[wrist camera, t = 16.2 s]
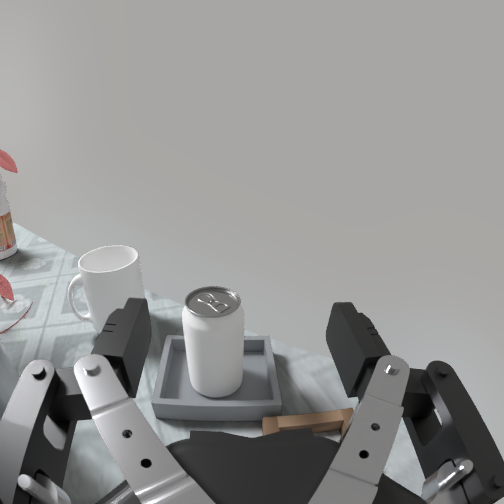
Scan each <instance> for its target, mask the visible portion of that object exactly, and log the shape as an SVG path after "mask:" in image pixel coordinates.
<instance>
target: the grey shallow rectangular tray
mask: <svg viewBox="0 0 504 504" xmlns="http://www.w3.org/2000/svg"><path fill="white" fill-rule="evenodd" d="M152 406H153V409H154V412H155V415H156V418H162V419H175V420H192V421H260V420H263V417H275V416H280V414H281V409H282V400H281V394H280V389H279V384H278V378H277V373H276V368H275V362H274V357H273V352H272V346H271V341H270V336H244V349H243V377H242V383H241V385H240V387H239V388H238V389H237V390H236V391H235V392H234V393H232V394H230V395H228V396H225V397H220V398H213V397H208V396H205V395H202V394H200V393H199V392H197V391H196V390H195V389H194V388H193V386H192V384H191V381H190V376H189V369H188V362H187V355H186V347H185V339H184V335H167V336H166V340H165V344H164V348H163V352H162V357H161V361H160V365H159V370H158V374H157V379H156V383H155V388H154V393H153V398H152Z"/></svg>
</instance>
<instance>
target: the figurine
mask: <svg viewBox="0 0 504 504" xmlns="http://www.w3.org/2000/svg"><path fill="white" fill-rule="evenodd" d="M0 166H1V167H2V168H4V169H5V170H8V171H11V172H15V173H17V168H16V165H15V162H14V161H13V159H12V158H11V157H10V156H9V155H8V154H7V153H6V152H4V151H2V150H0ZM0 294H1V297H2V296H3V297H5V298H7V299H9V300H13V301H14V297H13V292H12V288H11V286H10V284H9V282H8V281H7V279H6V278H5V277H3V276H2V275H1V274H0ZM32 303H33V302H32ZM31 305H32V304H31ZM30 307H31V306H30ZM29 309H30V308H29ZM29 309H28V310H29ZM27 312H28V311H27ZM27 312H26V313H27ZM26 313H25V314H26ZM25 314H24V315H25ZM27 314H28V313H27ZM23 317H24V316H23ZM23 317H22V318H23ZM22 318H21V319H22ZM24 318H25V317H24ZM21 319H20V320H21ZM18 321H19V320H18ZM18 321H17V322H18ZM17 322H16V323H17ZM16 323H15V324H16ZM15 324H14V325H15ZM12 326H13V325H12ZM12 326H11V327H12ZM11 327H10V328H11ZM8 329H9V328H8ZM8 329H6V330H7V331H8ZM6 330H5V331H6ZM7 331H6V332H7ZM3 332H4V331H3ZM3 332H1V333H3ZM1 333H0V334H1ZM4 333H5V332H4Z"/></svg>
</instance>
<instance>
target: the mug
mask: <svg viewBox="0 0 504 504" xmlns="http://www.w3.org/2000/svg"><path fill="white" fill-rule="evenodd" d="M78 267H79V271H80V274H79V275H77V276H76V277H75V278H74V279H73V280H72V281H71V283H70V285H69V289H68V300H69V304H70V307H71V309H72V311H73V313H74V314H75V316H76V317H77V318H78V319H80V320H82V321H85V322H90V323H93V325H94V328H95V330H96V331H97V333H99V334H100V333H101V332H102V329H103V327H104V325H105V323H106V320H107V318H108V316H109V315H110V314H111V313H112V312H113V311H115V310H116V309H117V308H120V309H123V308H124V306H125V304H126V302H127V300H128V298H145V295H144V288H143V281H142V274H141V266H140V258H139V253H138V251H137V250H136V249H134V248H132V247H128V246H120V245H115V246H106V247H101V248H98V249H95V250H93V251H90V252H88V253H86V254H85V255H83V256H82V257H81V258H80V260H79V261H78ZM79 285H83V289H84V293H85V297H86V301H87V305H88V308H89V311H90V312H89V313H88V314H87V315H82V314H80V313H79V312H78V311H77V309H76V307H75V305H74V302H73V289H74V288H75V286H79Z"/></svg>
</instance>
